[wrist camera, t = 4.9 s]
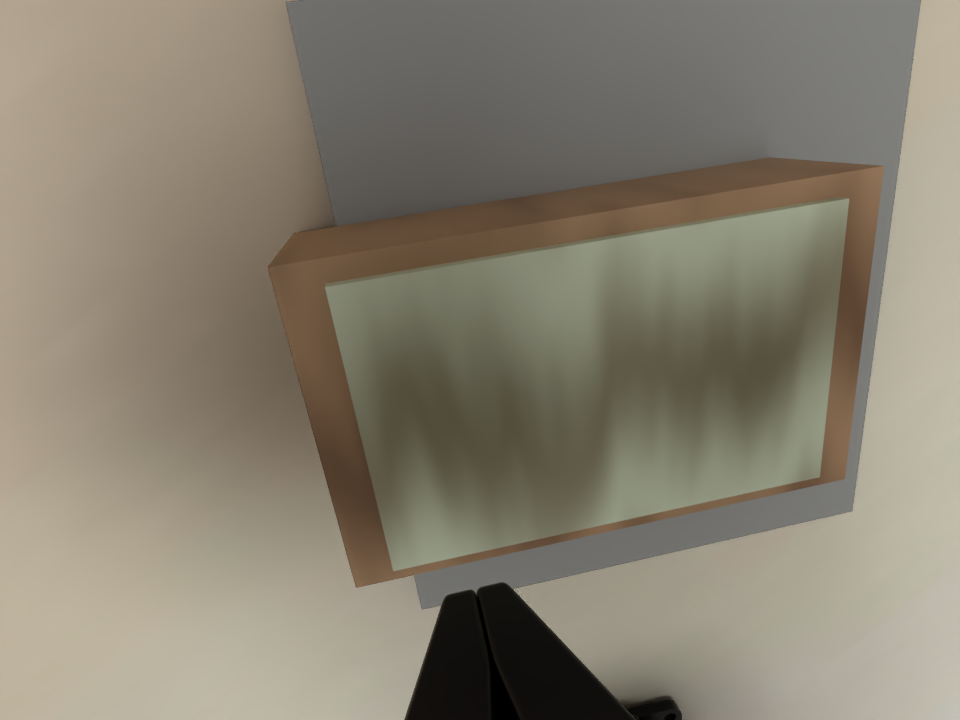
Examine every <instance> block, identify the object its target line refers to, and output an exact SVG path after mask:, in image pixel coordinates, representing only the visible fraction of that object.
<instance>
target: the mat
mask: <svg viewBox="0 0 960 720" xmlns="http://www.w3.org/2000/svg"><path fill="white" fill-rule="evenodd" d="M920 4H921V0H300V1H291V2H286V5H287V10H288V14H289V19H290V23H291V28H292V32H293V37H294V41H295V46H296V50H297V55H298V59H299V63H300V68H301V72H302V77H303V81H304V86H305V90H306V95H307V99H308V104H309V108H310V113H311V117H312V121H313V126H314V130H315V135H316V139H317V144H318V148H319V153H320V157H321V162H322V166H323V171H324V175H325V179H326V184H327V188H328V193H329V197H330V202H331V206H332V211H333V215H334V220H335V224H336V226H342V225H348V224H355V223H361V222H367V221H374V220H380V219H386V218H392V217H399V216H405V215H411V214H418V213H424V212H430V211H436V210H443V209H449V208H455V207H461V206H468V205H474V204H480V203H487V202H493V201H499V200H505V199H512V198H518V197H524V196H530V195H537V194H543V193H549V192H556V191H562V190H568V189H574V188H581V187H587V186H593V185H600V184H606V183H612V182H618V181H625V180H631V179H637V178H643V177H650V176H656V175H662V174H669V173H675V172H681V171H687V170H694V169H700V168H706V167H713V166H719V165H725V164H731V163H738V162H744V161H750V160H756V159H763V158H769V157H771V158H784V159H798V160H812V161H825V162H839V163H852V164H866V165H880V166H884V172H883V180H882V188H881V196H880V204H879V212H878V220H877V228H876V236H875V244H874V252H873V260H872V268H871V276H870V284H869V291H868V299H867V307H866V315H865V323H864V331H863V339H862V347H861V355H860V363H859V371H858V379H857V387H856V395H855V403H854V411H853V419H852V427H851V435H850V443H849V451H848V459H847V467H846V475H845V479H843V480H839V481H834V482H830V483H825V484H821V485H816V486H812V487H807V488H803V489H798V490H794V491H789V492H785V493H780V494H776V495H771V496H767V497H762V498H758V499H753V500H749V501H744V502H740V503H735V504H731V505H726V506H722V507H717V508H713V509H708V510H704V511H699V512H695V513H690V514H686V515H681V516H677V517H672V518H668V519H663V520H659V521H654V522H650V523H645V524H641V525H636V526H632V527H627V528H623V529H618V530H614V531H609V532H605V533H600V534H596V535H591V536H587V537H582V538H578V539H573V540H569V541H564V542H560V543H555V544H551V545H546V546H542V547H537V548H533V549H528V550H524V551H519V552H515V553H510V554H506V555H501V556H497V557H492V558H488V559H483V560H479V561H474V562H470V563H465V564H461V565H456V566H452V567H447V568H443V569H438V570H434V571H429V572H425V573H420V574H416V575H414V576H415V581H416V585H417V590H418V594H419V599H420V603H421V608H422V609H427V608H431V607H436V606H440V605H442V602H443V600H444V598H445V597H446V596H447V595H448V594H452V593H456V592H461V591H465V590H470V589H472V590H474V591H475V592H476V595H477V589H478V588H479V587H482V586H487V585H491V584H496V583H500V582H504V583H507V584H508V585H509V586H510V587H511V588H512V589H514V588H519V587H523V586H527V585H532V584H536V583H540V582H545V581H549V580H554V579H558V578H562V577H567V576H571V575H575V574H580V573H584V572H589V571H593V570H597V569H602V568H606V567H610V566H615V565H619V564H624V563H628V562H632V561H637V560H641V559H645V558H650V557H654V556H659V555H663V554H667V553H672V552H676V551H680V550H685V549H689V548H694V547H698V546H702V545H707V544H711V543H715V542H720V541H724V540H729V539H733V538H737V537H742V536H746V535H750V534H755V533H759V532H764V531H768V530H772V529H777V528H781V527H785V526H790V525H794V524H799V523H803V522H807V521H812V520H816V519H820V518H825V517H829V516H834V515H838V514H842V513H847V512H851V511H852V509H853V502H854V495H855V487H856V480H857V472H858V465H859V457H860V450H861V443H862V435H863V428H864V420H865V413H866V405H867V398H868V391H869V383H870V376H871V368H872V361H873V353H874V346H875V338H876V331H877V324H878V316H879V309H880V301H881V294H882V286H883V279H884V272H885V264H886V257H887V249H888V242H889V234H890V227H891V219H892V212H893V205H894V197H895V190H896V182H897V175H898V167H899V160H900V153H901V145H902V138H903V130H904V123H905V115H906V108H907V100H908V93H909V86H910V78H911V71H912V63H913V56H914V48H915V41H916V34H917V26H918V19H919V11H920Z"/></svg>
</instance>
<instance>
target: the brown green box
mask: <svg viewBox="0 0 960 720" xmlns="http://www.w3.org/2000/svg"><path fill="white" fill-rule="evenodd" d="M883 172H884V166H880V165H866V164H852V163H839V162H825V161H812V160H798V159H784V158H771V157H769V158H763V159H756V160H750V161H744V162H738V163H731V164H725V165H719V166H713V167H706V168H700V169H694V170H687V171H681V172H675V173H669V174H662V175H656V176H650V177H643V178H637V179H631V180H625V181H618V182H612V183H606V184H600V185H593V186H587V187H581V188H574V189H568V190H562V191H556V192H549V193H543V194H537V195H530V196H524V197H518V198H512V199H505V200H499V201H493V202H487V203H480V204H474V205H468V206H461V207H455V208H449V209H443V210H436V211H430V212H424V213H418V214H411V215H405V216H399V217H392V218H386V219H380V220H374V221H367V222H361V223H355V224H348V225H342V226H336V227H330V228H323V229H317V230H311V231H305V232H298V233H294V234H293V235H292V236H291V238H290V239H289V240H288V242H287V243H286V244H285V245H284V247H283V248H282V249H281V251H280V252H279V253H278V254H277V256H276V257H275V258H274V260H273V261H272V262H271V263H270V265H269V266H268V271H269V274H270V278H271V281H272V285H273V289H274V292H275V296H276V300H277V303H278V307H279V310H280V314H281V318H282V321H283V325H284V329H285V332H286V336H287V339H288V343H289V347H290V350H291V354H292V358H293V361H294V365H295V368H296V372H297V376H298V379H299V383H300V387H301V390H302V394H303V397H304V401H305V405H306V408H307V412H308V416H309V419H310V423H311V426H312V430H313V434H314V437H315V441H316V445H317V448H318V452H319V455H320V459H321V463H322V466H323V470H324V474H325V477H326V481H327V485H328V488H329V492H330V495H331V499H332V503H333V506H334V510H335V514H336V517H337V521H338V524H339V528H340V532H341V535H342V539H343V543H344V546H345V550H346V553H347V557H348V561H349V564H350V568H351V572H352V575H353V579H354V582H355V586H356V588H357V587H362V586H366V585H371V584H375V583H380V582H384V581H389V580H393V579H398V578H402V577H407V576H411V575H416V574H420V573H425V572H429V571H434V570H438V569H443V568H447V567H452V566H456V565H461V564H465V563H470V562H474V561H479V560H483V559H488V558H492V557H497V556H501V555H506V554H510V553H515V552H519V551H524V550H528V549H533V548H537V547H542V546H546V545H551V544H555V543H560V542H564V541H569V540H573V539H578V538H582V537H587V536H591V535H596V534H600V533H605V532H609V531H614V530H618V529H623V528H627V527H632V526H636V525H641V524H645V523H650V522H654V521H659V520H663V519H668V518H672V517H677V516H681V515H686V514H690V513H695V512H699V511H704V510H708V509H713V508H717V507H722V506H726V505H731V504H735V503H740V502H744V501H749V500H753V499H758V498H762V497H767V496H771V495H776V494H780V493H785V492H789V491H794V490H798V489H803V488H807V487H812V486H816V485H821V484H825V483H830V482H834V481H839V480H843V479H845V475H846V467H847V459H848V451H849V443H850V435H851V427H852V419H853V411H854V403H855V395H856V387H857V379H858V371H859V363H860V355H861V347H862V339H863V331H864V323H865V315H866V307H867V299H868V291H869V284H870V276H871V268H872V260H873V252H874V244H875V236H876V228H877V220H878V212H879V204H880V196H881V188H882V180H883Z"/></svg>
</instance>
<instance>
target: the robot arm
mask: <svg viewBox="0 0 960 720" xmlns="http://www.w3.org/2000/svg"><path fill="white" fill-rule="evenodd" d="M404 720H682V714H681V711H680V709H679V707H678V706H677V704H676V702H674V701H672V700H666V701H662V702H658V703H654V704H650V705H646V706H642V707H638V708H634V709H630V710H627V709H626V708H625V707H624V706H623V705H622V704H621V703H620V702H619V701H618V700H617V699H616V698H615V697H614V696H613V695H612V694H611V693H610V692H609V690H608V689H607V688H606V687H605V686H604V685H603V684H602V683H601V682H600V681H599V680H598V679H597V678H596V677H595V676H594V675H593V674H592V673H591V671H590V670H589V669H588V668H587V667H586V666H585V665H584V664H583V663H582V662H581V661H580V660H579V659H578V658H577V657H576V656H575V655H574V653H573V652H572V651H571V650H570V649H569V648H568V647H567V646H566V645H565V644H564V643H563V642H562V641H561V640H560V639H559V638H558V637H557V636H556V634H555V633H554V632H553V631H552V630H551V629H550V628H549V627H548V626H547V625H546V624H545V623H544V622H543V621H542V620H541V619H540V618H539V616H538V615H537V614H536V613H535V612H534V611H533V610H532V609H531V608H530V607H529V606H528V605H527V604H526V603H525V602H524V601H523V600H522V599H521V597H520V596H519V595H518V594H517V593H516V592H515V591H514V590H513V589H512V588H511V587H510V586H509V585H508V584H507V583H504V582H500V583H496V584H491V585H487V586H482V587H479V588H478V589H477V595H476V592H475V591H474V590H472V589H470V590H465V591H461V592H456V593H452V594H448V595H447V596H446V597H445V598H444V600H443V602H442V605H441V609H440V612H439V615H438V618H437V621H436V624H435V627H434V630H433V633H432V636H431V639H430V642H429V646H428V649H427V652H426V655H425V658H424V661H423V664H422V667H421V670H420V673H419V676H418V679H417V682H416V686H415V689H414V692H413V695H412V698H411V701H410V704H409V707H408V710H407V713H406V716H405V719H404Z"/></svg>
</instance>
